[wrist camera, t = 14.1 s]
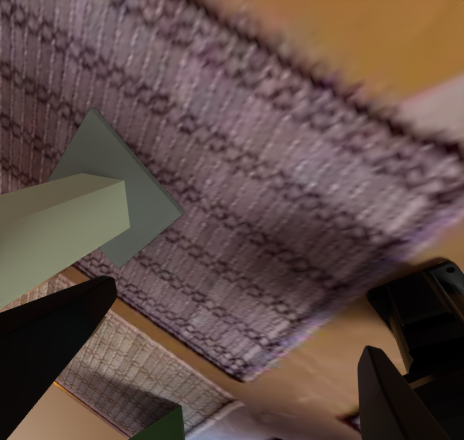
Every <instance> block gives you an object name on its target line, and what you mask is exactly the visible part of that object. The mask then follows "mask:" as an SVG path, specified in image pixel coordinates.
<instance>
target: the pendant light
mask: <svg viewBox="0 0 464 440" xmlns="http://www.w3.org/2000/svg"><path fill="white" fill-rule="evenodd" d="M129 440H185V435H184V422H183V415H182V407H181V405H180V406H179V407H177V408H176V409H174V410H173V411H171V412H170V413H168V414H167V415H165V416H164V417H162V418H161V419H159V420H158V421H156V422H155V423H153V424H152V425H150V426H148V427H147V428H145V429H144V430H142V431H141V432H139V433H138V434H136V435H135V436H133V437H132V438H130V439H129Z"/></svg>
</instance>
